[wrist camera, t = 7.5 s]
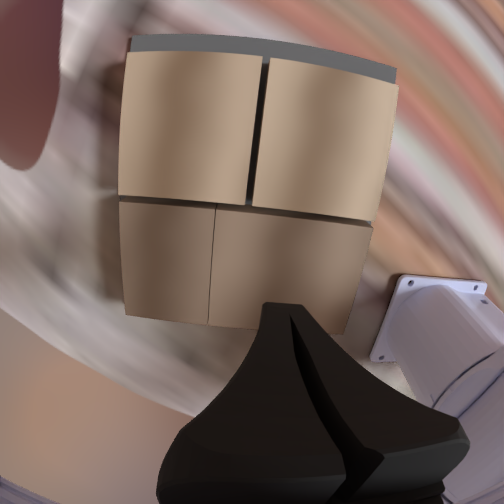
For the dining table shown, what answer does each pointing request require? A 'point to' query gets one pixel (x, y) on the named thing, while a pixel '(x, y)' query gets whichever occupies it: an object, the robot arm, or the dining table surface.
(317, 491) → the robot arm
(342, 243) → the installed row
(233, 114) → the plank
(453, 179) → the dining table surface
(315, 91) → the plank
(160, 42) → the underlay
